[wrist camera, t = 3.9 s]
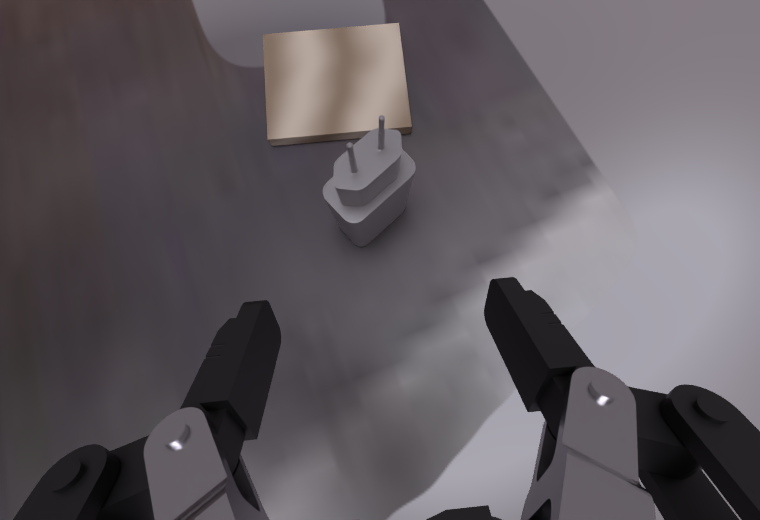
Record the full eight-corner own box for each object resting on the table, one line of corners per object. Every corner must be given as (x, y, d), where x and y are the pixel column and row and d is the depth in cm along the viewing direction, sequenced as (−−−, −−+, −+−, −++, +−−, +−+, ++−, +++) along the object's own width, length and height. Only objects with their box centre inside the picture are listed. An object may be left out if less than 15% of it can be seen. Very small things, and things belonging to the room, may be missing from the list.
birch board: (272, 146, 25) (267, 139, 24) (267, 44, 26) (262, 34, 25) (410, 133, 25) (411, 126, 24) (397, 33, 27) (398, 22, 26)
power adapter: (335, 223, 24) (292, 146, 12) (383, 181, 24) (387, 67, 13) (360, 250, 24) (342, 198, 12) (408, 207, 24) (437, 115, 12)
